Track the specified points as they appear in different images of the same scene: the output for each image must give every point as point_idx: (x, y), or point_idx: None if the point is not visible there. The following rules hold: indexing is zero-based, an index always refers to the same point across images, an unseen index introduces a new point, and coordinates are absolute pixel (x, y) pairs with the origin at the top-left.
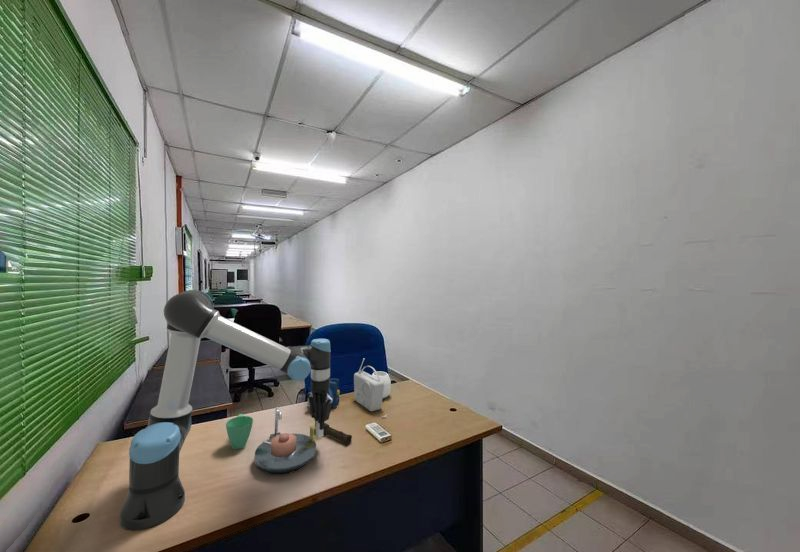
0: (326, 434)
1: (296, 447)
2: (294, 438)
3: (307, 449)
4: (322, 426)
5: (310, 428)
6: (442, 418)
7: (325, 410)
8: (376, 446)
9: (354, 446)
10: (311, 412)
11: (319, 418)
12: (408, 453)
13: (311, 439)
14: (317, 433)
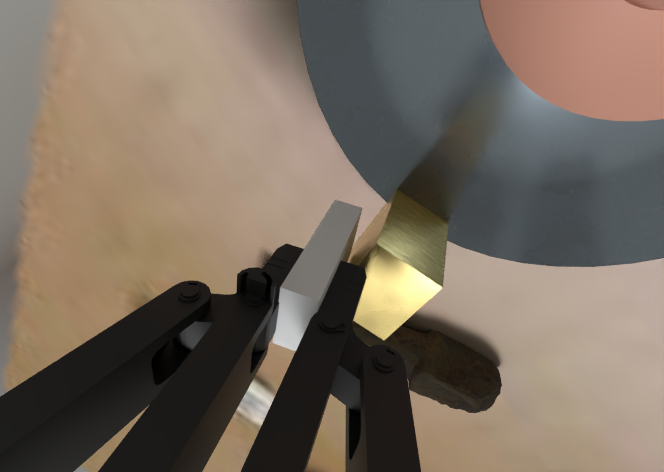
0: (413, 331)
1: (496, 57)
2: (522, 31)
3: (374, 70)
4: (267, 268)
5: (432, 269)
6: (110, 444)
7: (28, 402)
8: (157, 285)
9: (232, 268)
10: (393, 417)
11: (250, 321)
12: (45, 266)
13: (417, 206)
14: (335, 223)
